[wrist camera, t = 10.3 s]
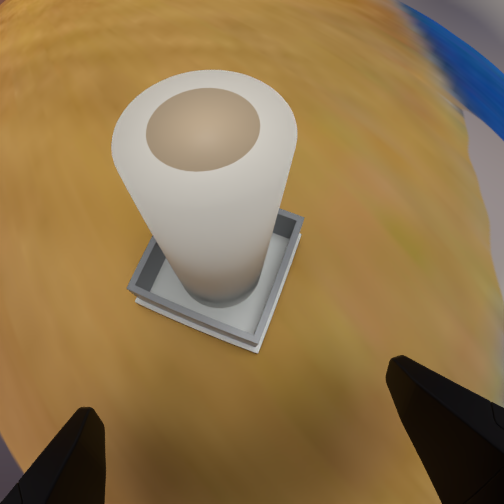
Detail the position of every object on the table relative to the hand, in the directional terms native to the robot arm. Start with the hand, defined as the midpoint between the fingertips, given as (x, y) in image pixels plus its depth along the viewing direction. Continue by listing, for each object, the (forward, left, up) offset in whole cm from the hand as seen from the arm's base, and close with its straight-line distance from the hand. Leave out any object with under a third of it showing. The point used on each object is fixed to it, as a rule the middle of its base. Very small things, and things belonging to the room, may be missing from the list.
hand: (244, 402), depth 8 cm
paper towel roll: (+7, +4, -12) cm, 14 cm away
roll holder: (+7, +4, -12) cm, 15 cm away
